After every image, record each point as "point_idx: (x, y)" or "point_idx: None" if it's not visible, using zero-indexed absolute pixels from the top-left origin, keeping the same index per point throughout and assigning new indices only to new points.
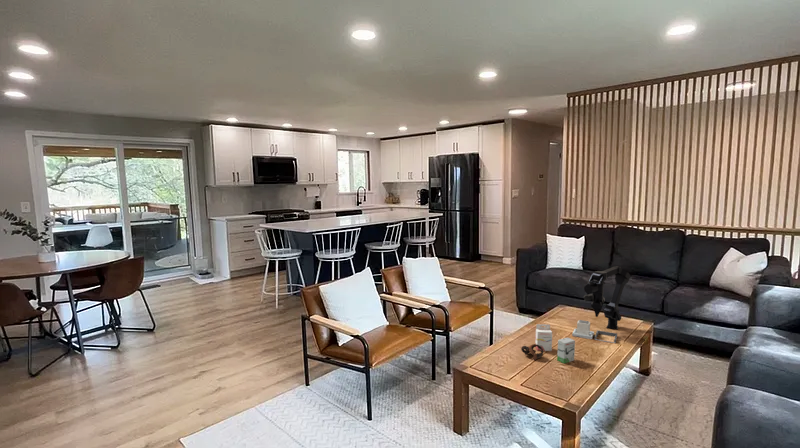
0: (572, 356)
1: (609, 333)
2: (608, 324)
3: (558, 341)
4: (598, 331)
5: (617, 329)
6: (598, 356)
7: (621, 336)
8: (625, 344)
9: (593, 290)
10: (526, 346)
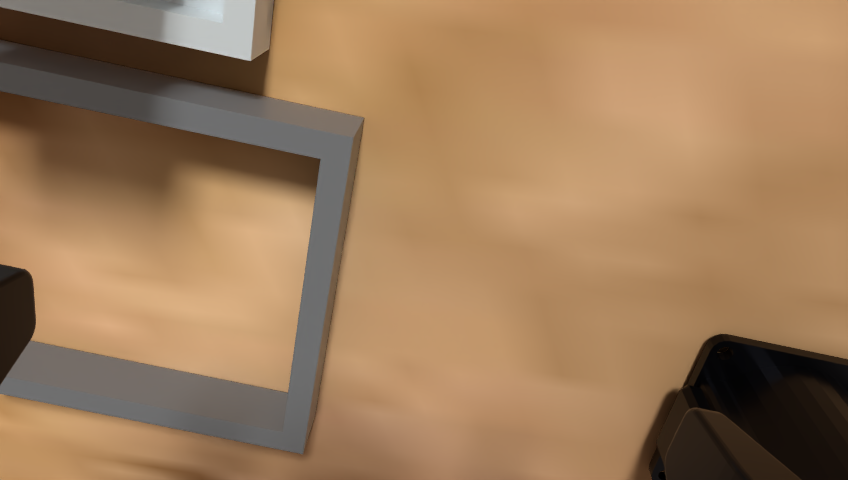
0: None
1: (298, 340)
2: (774, 403)
3: None
4: (321, 159)
5: (651, 475)
6: None
7: (349, 469)
8: (29, 459)
9: None
10: None
